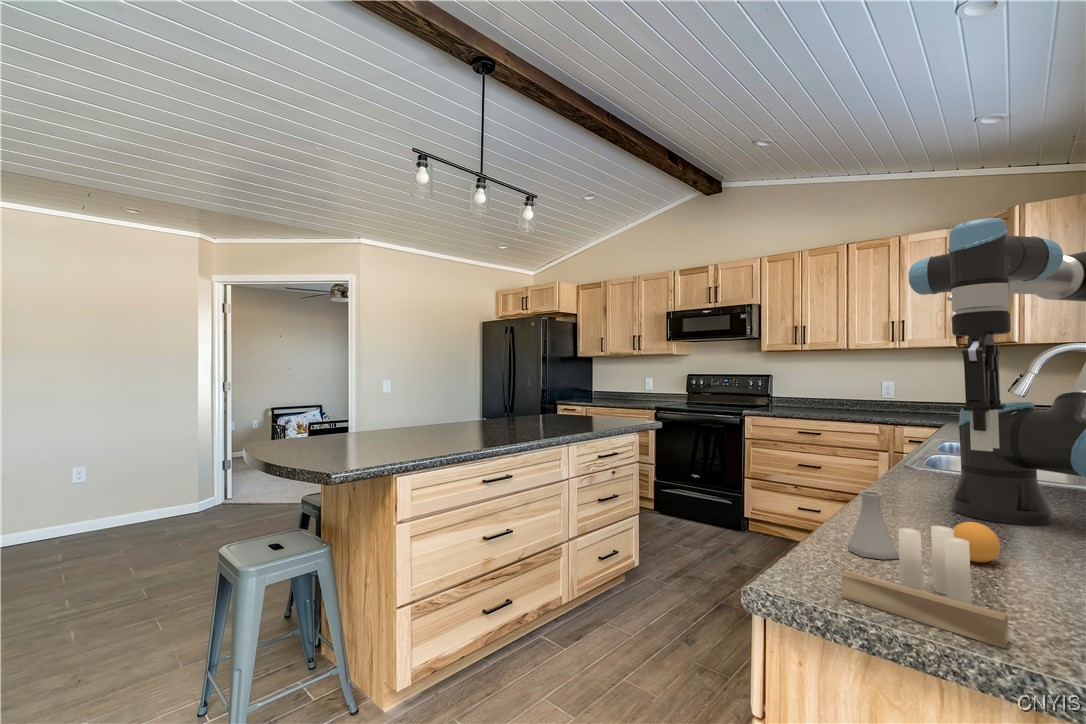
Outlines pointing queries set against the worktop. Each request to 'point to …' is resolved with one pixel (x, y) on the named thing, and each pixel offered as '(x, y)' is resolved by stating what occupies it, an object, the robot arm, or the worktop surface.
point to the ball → (978, 541)
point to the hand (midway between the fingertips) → (985, 448)
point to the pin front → (939, 556)
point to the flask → (872, 530)
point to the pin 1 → (910, 558)
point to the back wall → (927, 608)
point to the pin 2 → (958, 569)
